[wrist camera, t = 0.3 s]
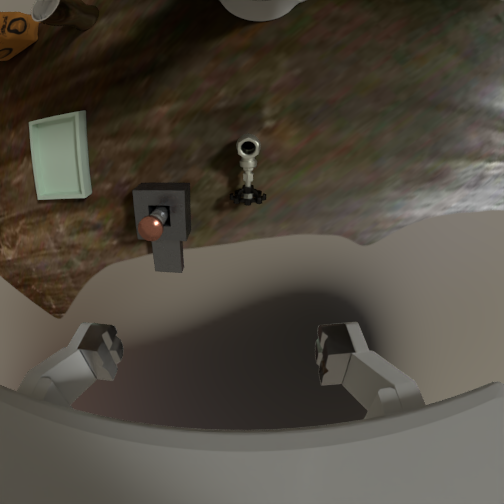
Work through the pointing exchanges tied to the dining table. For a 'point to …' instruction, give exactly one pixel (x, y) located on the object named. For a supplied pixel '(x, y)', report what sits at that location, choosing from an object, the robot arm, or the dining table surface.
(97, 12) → the beer glass
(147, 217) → the hitch pin
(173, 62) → the dining table surface
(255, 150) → the valve
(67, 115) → the tray
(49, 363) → the robot arm
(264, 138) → the dining table surface
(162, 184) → the block
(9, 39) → the coffee package
